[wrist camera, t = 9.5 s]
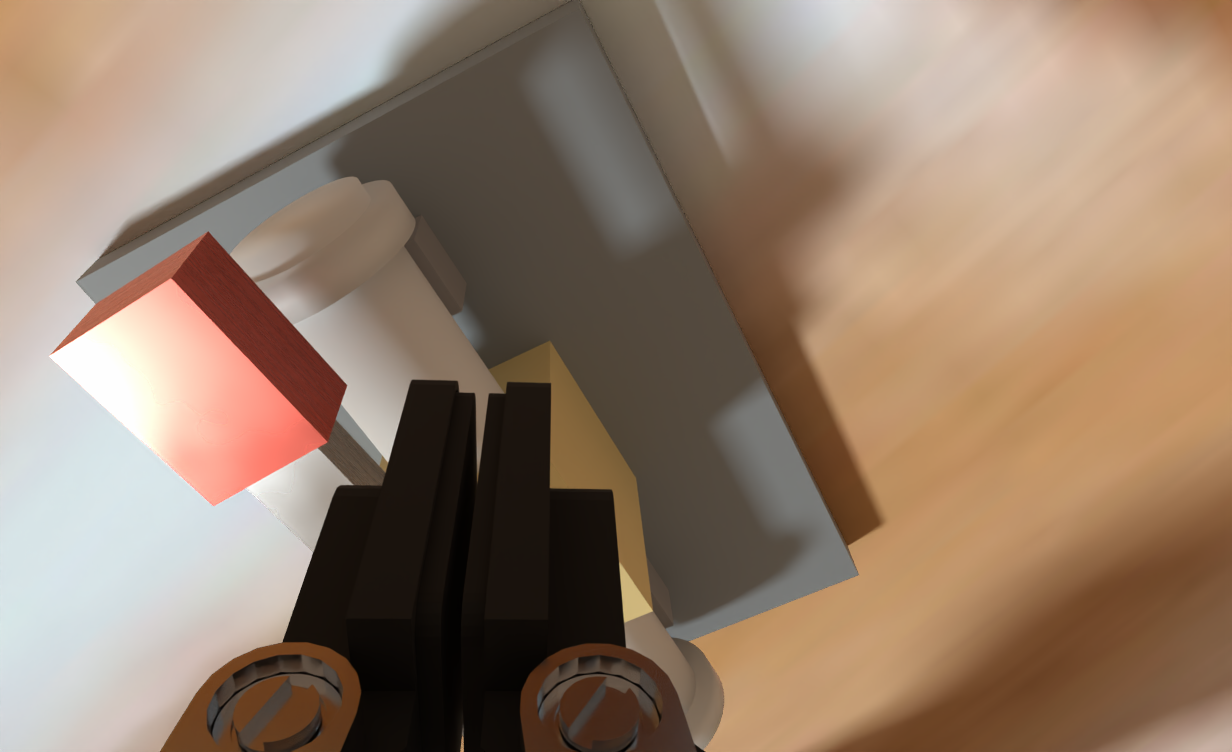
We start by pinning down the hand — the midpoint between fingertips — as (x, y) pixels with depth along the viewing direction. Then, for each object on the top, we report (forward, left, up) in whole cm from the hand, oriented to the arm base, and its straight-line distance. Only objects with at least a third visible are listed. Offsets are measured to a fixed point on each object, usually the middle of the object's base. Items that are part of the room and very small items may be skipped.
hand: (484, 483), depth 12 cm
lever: (-4, +6, -7) cm, 10 cm away
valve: (-9, +5, -17) cm, 20 cm away
